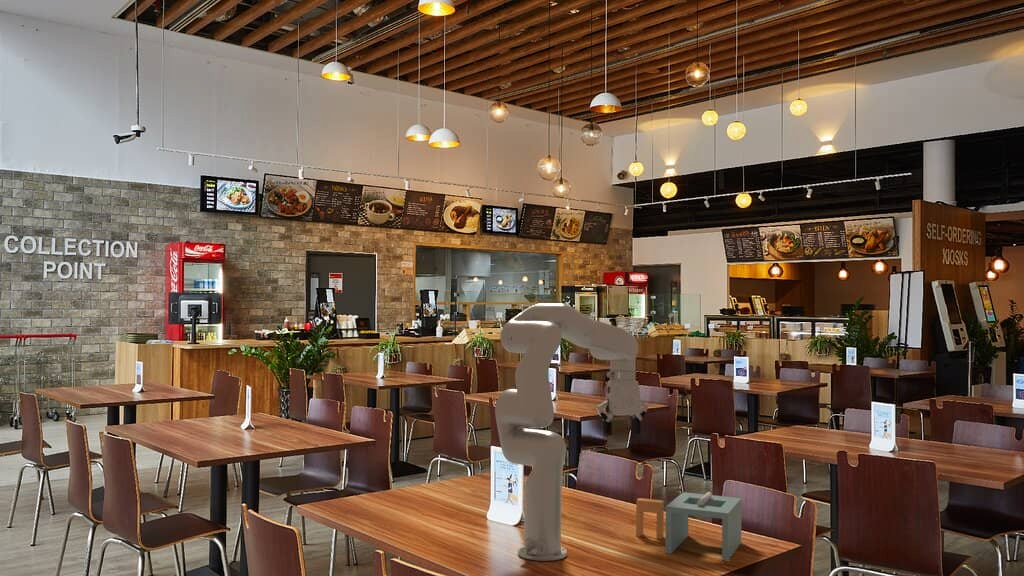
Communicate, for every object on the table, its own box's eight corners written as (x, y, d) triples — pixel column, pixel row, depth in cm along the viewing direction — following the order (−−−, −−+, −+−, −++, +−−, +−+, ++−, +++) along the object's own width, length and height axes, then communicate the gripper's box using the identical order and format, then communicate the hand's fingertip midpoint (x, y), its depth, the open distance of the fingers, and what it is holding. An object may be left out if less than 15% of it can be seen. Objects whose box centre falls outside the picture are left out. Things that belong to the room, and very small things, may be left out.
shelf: (728, 561, 201) (728, 506, 202) (665, 552, 208) (665, 500, 208) (741, 542, 219) (741, 492, 220) (683, 535, 226) (683, 486, 226)
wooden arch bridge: (663, 536, 224) (663, 500, 224) (660, 539, 221) (660, 502, 221) (639, 533, 227) (639, 498, 227) (636, 536, 224) (636, 500, 224)
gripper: (603, 377, 231) (603, 437, 230) (654, 376, 238) (653, 434, 237) (591, 375, 238) (590, 433, 237) (640, 375, 245) (640, 431, 244)
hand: (622, 434), depth 237 cm, fingers open, 9 cm apart
